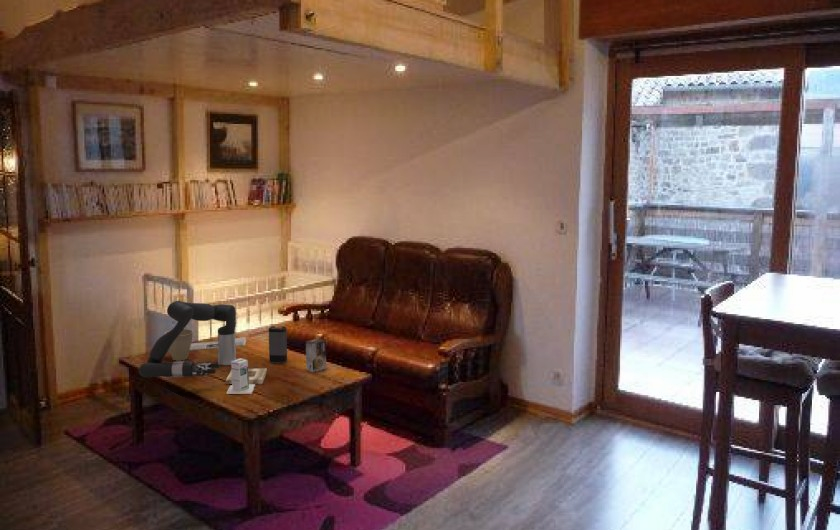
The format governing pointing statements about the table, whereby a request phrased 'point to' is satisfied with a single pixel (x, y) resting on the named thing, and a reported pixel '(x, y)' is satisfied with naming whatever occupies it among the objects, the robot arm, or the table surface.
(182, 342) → the plant pot
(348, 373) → the table surface
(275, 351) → the electronic device
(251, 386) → the ceramic tile
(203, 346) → the newspaper
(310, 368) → the coffee box
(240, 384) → the syrup box
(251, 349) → the table surface
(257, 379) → the cream square board
